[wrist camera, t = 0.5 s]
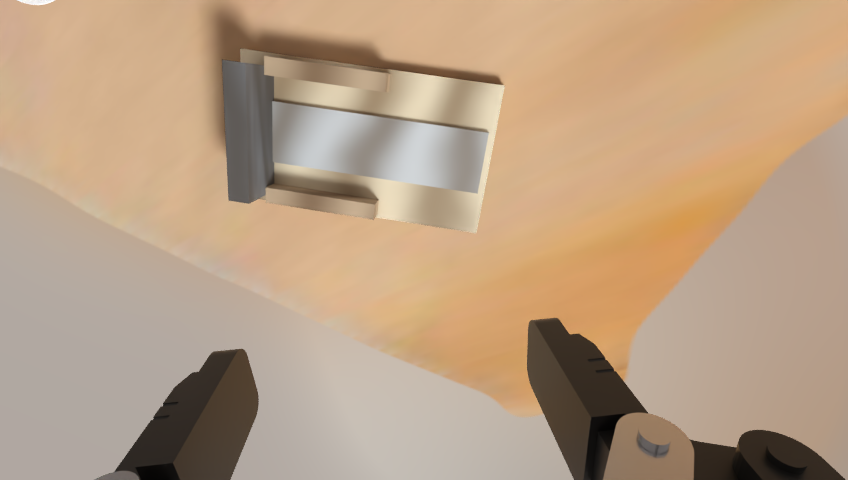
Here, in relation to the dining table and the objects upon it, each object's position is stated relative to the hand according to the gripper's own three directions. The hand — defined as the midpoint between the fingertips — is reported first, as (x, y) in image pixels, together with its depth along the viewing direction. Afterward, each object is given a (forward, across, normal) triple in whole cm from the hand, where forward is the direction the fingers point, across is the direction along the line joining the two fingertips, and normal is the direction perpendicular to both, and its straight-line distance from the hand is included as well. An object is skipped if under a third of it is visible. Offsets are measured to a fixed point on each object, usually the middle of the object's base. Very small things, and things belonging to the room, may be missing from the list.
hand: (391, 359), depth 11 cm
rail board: (+22, +2, -3) cm, 22 cm away
